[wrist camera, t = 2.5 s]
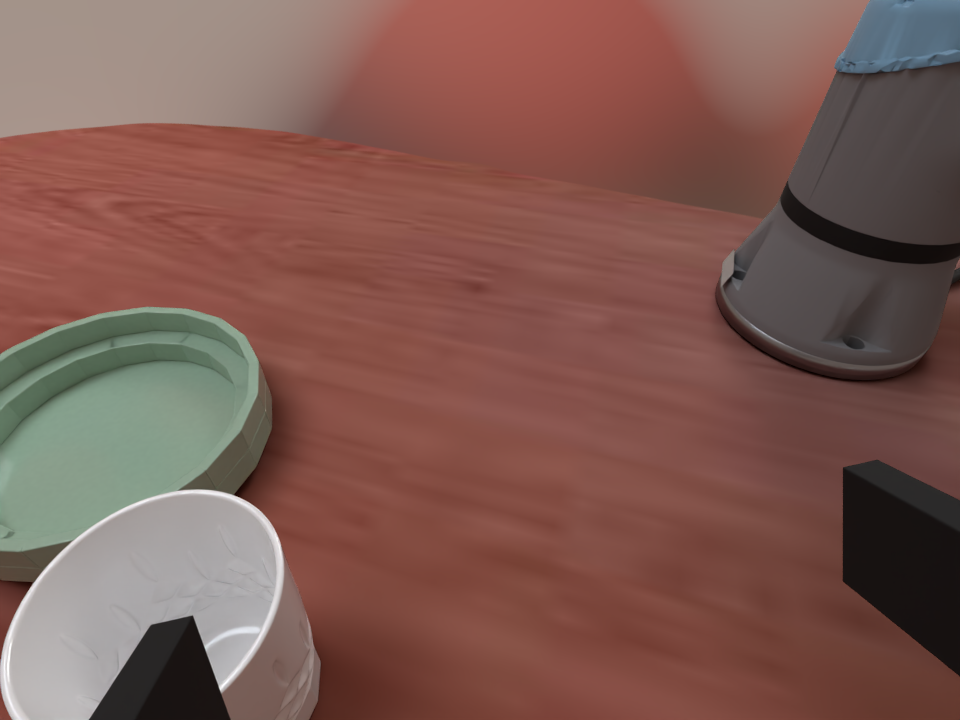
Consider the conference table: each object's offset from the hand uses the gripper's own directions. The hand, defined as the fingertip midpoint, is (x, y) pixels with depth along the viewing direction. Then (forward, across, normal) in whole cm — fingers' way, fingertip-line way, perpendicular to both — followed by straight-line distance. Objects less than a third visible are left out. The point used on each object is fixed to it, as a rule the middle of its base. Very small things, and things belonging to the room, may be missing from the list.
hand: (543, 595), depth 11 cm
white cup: (+12, -12, -11) cm, 20 cm away
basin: (+24, -20, -2) cm, 32 cm away
